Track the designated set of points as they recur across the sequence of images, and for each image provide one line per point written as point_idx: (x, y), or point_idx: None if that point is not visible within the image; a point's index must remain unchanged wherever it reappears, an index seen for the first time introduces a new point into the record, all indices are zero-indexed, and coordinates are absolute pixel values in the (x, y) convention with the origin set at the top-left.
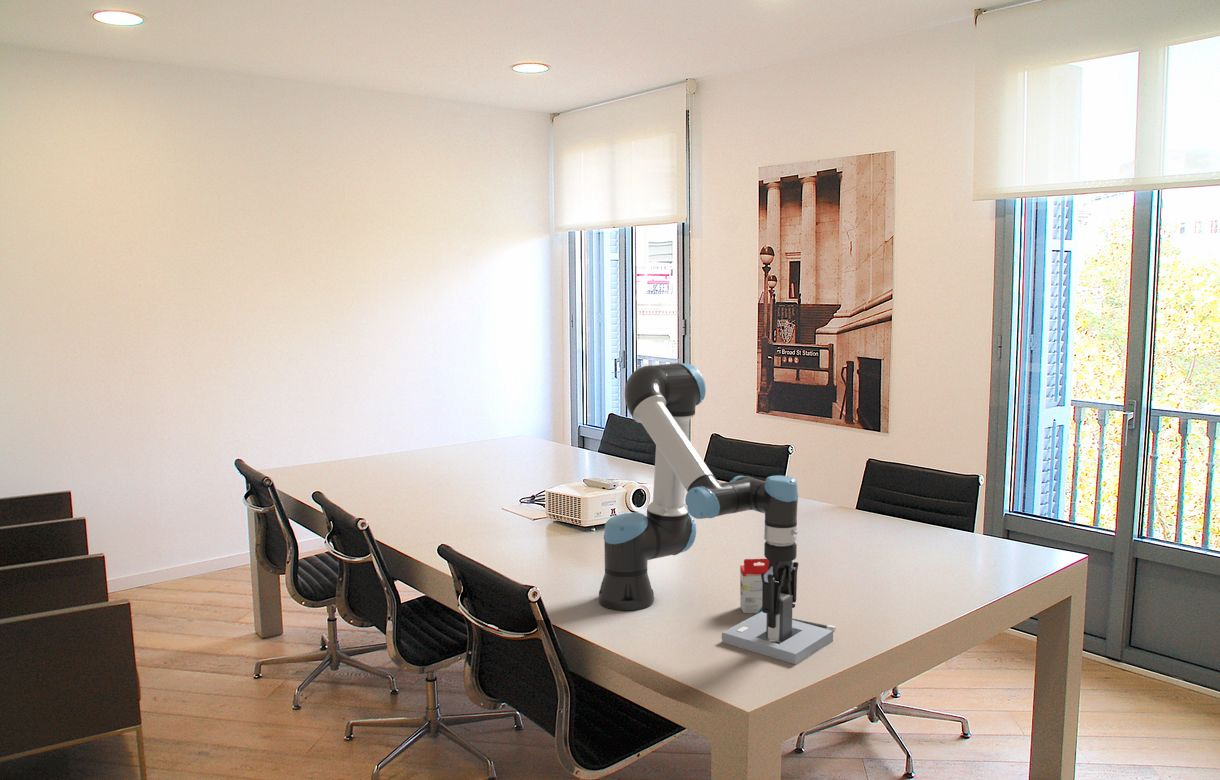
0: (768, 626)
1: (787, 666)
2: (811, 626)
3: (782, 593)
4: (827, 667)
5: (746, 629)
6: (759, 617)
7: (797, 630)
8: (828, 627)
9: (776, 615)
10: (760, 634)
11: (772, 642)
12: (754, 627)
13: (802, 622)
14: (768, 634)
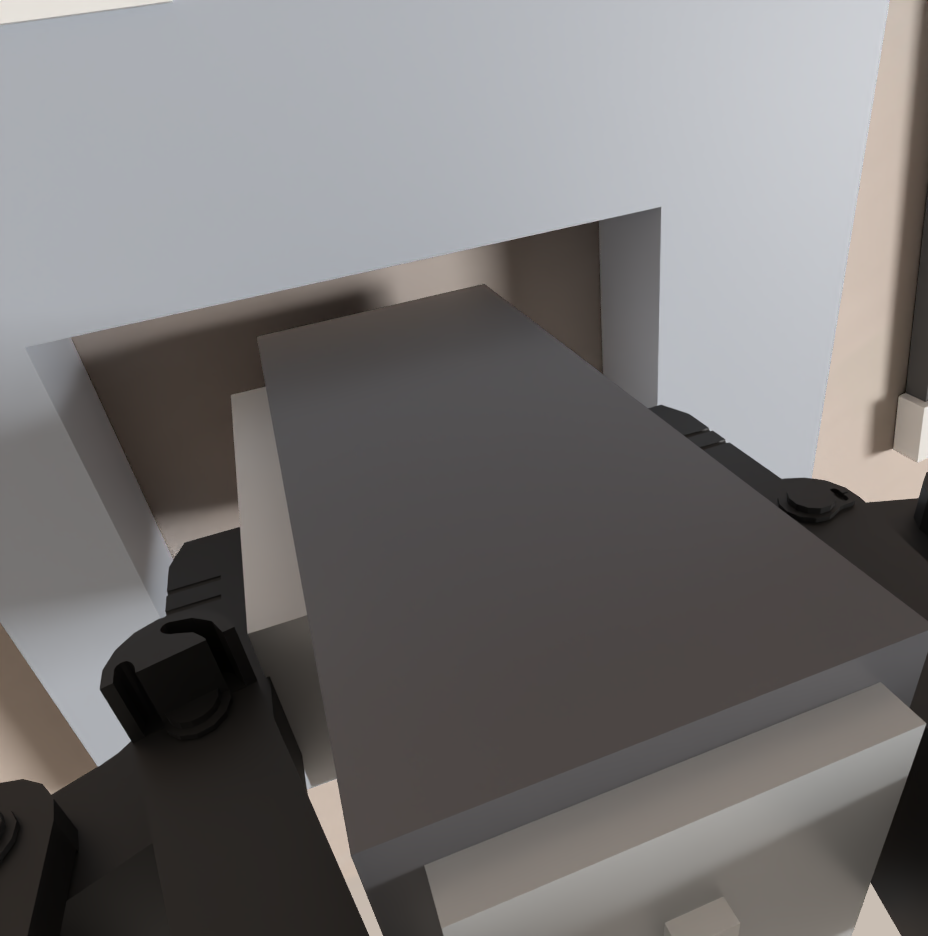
0: (180, 555)
1: (65, 762)
2: (783, 467)
3: (871, 853)
4: (331, 839)
5: (71, 15)
6: None
7: None
8: (916, 418)
9: (301, 750)
10: (177, 311)
11: (134, 581)
12: (299, 30)
13: (832, 347)
14: (237, 426)
